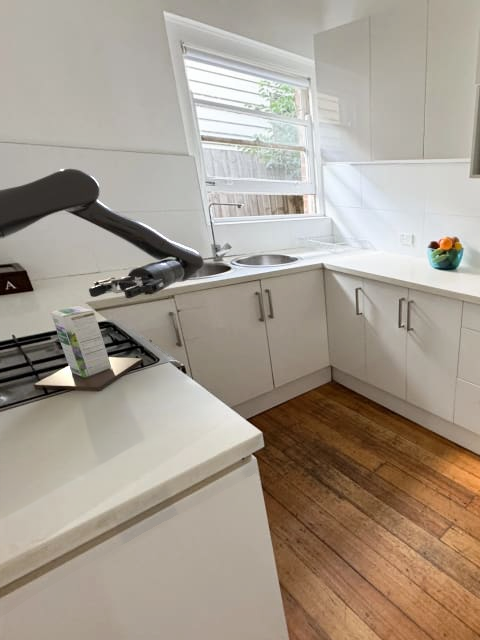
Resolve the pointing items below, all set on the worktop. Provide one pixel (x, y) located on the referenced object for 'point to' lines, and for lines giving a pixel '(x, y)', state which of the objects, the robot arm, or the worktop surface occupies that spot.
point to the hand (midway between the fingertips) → (108, 293)
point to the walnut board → (93, 382)
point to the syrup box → (81, 340)
